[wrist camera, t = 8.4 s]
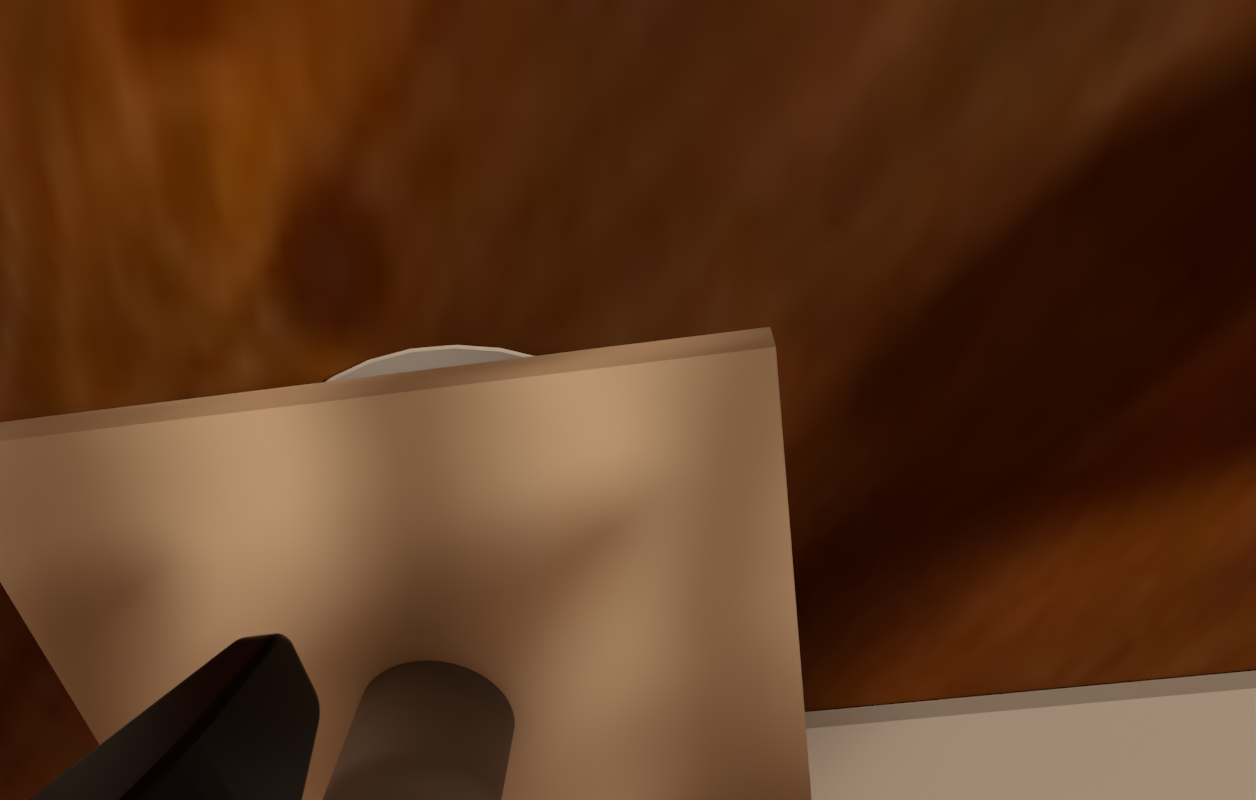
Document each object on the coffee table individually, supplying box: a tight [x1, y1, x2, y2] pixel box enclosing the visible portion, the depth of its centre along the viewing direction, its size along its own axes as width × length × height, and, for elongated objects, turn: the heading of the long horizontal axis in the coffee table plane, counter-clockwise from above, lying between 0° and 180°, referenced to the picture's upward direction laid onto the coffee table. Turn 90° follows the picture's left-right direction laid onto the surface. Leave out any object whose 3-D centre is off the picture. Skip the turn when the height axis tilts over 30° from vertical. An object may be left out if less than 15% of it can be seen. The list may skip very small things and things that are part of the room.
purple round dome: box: [326, 345, 533, 382], centre depth 21 cm, size 12×12×5 cm
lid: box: [0, 327, 812, 800], centre depth 17 cm, size 15×15×5 cm
